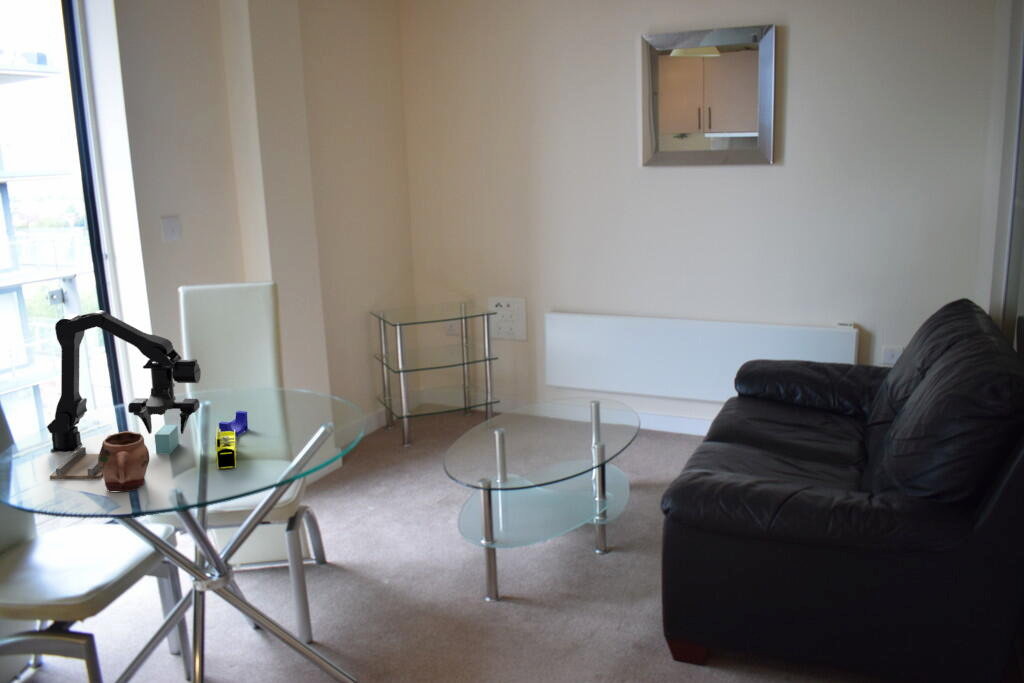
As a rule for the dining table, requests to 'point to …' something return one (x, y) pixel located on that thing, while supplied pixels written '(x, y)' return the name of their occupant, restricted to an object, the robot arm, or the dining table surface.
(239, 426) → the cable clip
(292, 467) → the dining table surface
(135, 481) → the decorative planter
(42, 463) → the dining table surface
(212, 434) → the dining table surface
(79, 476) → the rail board
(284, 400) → the dining table surface
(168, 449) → the teal rectangular block
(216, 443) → the yellow toy chassis
